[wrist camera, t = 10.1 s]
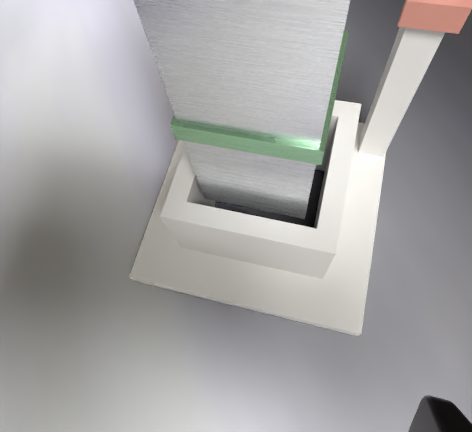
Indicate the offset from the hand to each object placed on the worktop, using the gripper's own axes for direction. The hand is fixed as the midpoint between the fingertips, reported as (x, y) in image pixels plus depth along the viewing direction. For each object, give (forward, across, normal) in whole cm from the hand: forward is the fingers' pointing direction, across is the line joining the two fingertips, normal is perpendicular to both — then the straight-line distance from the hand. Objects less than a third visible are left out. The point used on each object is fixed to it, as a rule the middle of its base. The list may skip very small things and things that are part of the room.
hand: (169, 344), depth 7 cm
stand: (+13, 0, +2) cm, 13 cm away
